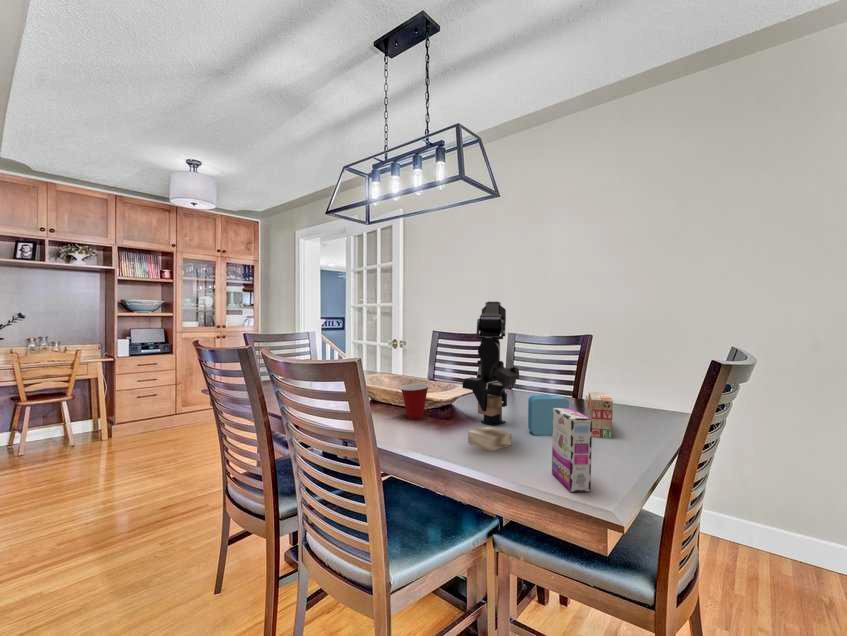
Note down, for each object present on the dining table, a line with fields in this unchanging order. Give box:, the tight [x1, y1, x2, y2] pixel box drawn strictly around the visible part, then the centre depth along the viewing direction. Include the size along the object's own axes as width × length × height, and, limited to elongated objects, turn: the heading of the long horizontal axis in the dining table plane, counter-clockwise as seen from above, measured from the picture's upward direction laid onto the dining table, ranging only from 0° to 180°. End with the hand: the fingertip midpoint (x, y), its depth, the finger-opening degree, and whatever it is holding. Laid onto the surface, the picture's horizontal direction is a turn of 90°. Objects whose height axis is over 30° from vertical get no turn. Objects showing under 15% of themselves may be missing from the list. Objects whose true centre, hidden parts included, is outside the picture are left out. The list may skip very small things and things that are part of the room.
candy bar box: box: [551, 407, 593, 493], centre depth 98 cm, size 11×5×16 cm, turn 5°
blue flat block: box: [527, 394, 570, 436], centre depth 137 cm, size 12×4×12 cm, turn 91°
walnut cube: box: [477, 394, 503, 416], centre depth 126 cm, size 5×5×5 cm
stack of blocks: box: [585, 391, 614, 439], centre depth 143 cm, size 21×6×12 cm, turn 163°
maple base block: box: [467, 425, 512, 452], centre depth 126 cm, size 9×9×4 cm
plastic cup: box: [399, 383, 430, 420], centre depth 156 cm, size 11×11×12 cm
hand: (489, 409), depth 126 cm, fingers closed on walnut cube, 5 cm apart
